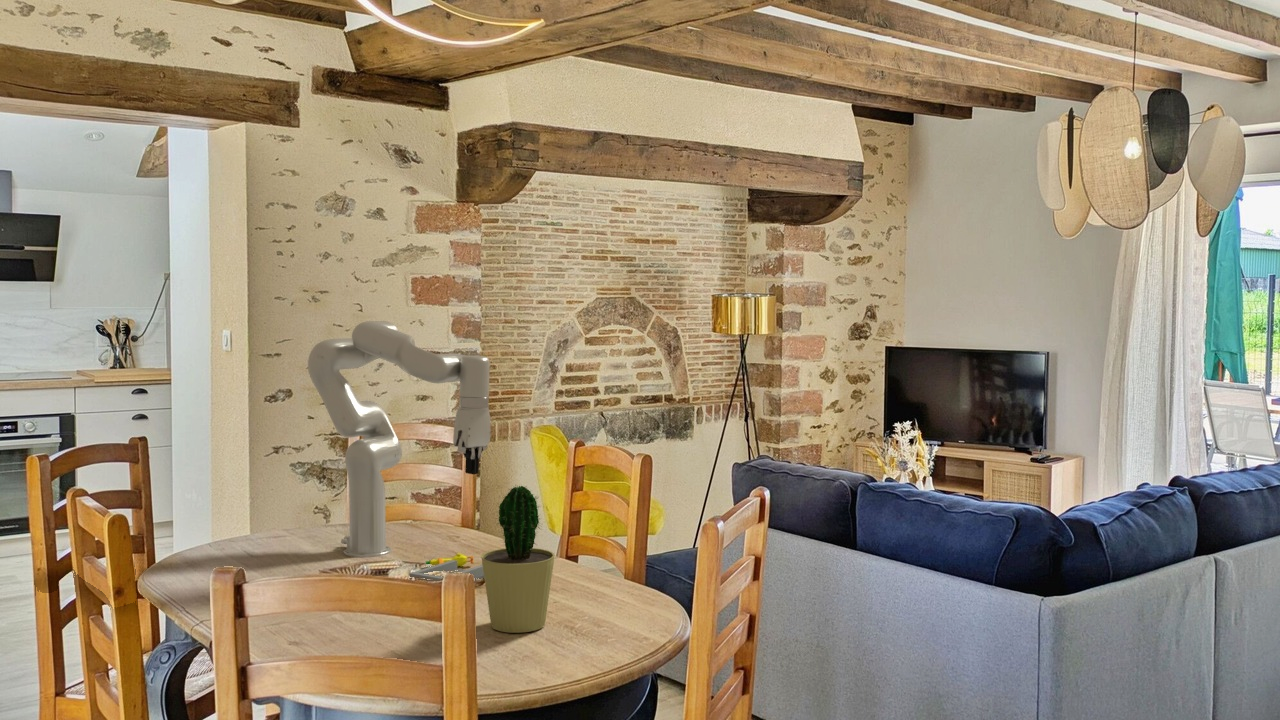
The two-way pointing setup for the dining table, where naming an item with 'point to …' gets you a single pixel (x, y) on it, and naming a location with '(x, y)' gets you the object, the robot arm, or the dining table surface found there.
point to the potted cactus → (518, 568)
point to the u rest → (447, 566)
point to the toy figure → (458, 557)
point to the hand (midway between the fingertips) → (471, 473)
